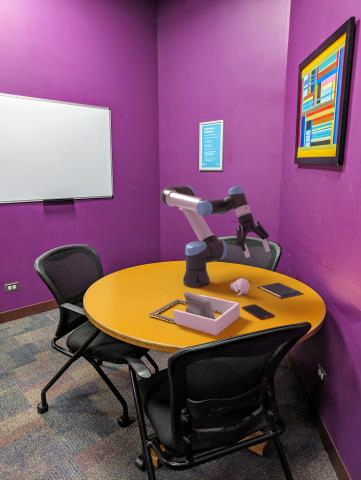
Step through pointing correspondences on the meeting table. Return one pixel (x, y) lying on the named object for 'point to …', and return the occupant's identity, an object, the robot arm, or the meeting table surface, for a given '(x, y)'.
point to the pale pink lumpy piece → (240, 286)
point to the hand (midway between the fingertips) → (258, 254)
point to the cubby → (206, 324)
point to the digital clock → (198, 305)
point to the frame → (164, 308)
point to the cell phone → (258, 312)
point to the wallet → (280, 290)
